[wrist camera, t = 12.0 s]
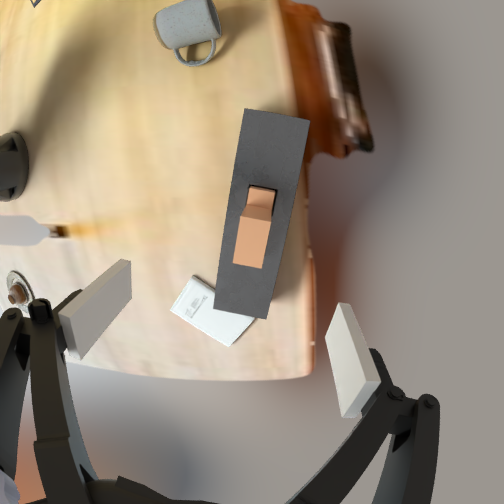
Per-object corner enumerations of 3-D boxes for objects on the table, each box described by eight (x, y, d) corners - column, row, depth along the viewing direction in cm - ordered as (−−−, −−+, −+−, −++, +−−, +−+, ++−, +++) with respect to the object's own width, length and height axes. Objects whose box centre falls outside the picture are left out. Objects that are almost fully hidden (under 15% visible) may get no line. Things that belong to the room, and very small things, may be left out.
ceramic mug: (166, 23, 29) (146, 4, 22) (216, 7, 28) (205, -16, 21) (175, 75, 33) (155, 62, 26) (229, 60, 32) (219, 42, 25)
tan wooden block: (242, 243, 40) (229, 280, 29) (253, 182, 37) (243, 195, 26) (262, 247, 40) (257, 285, 29) (274, 186, 37) (275, 201, 26)
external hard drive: (229, 342, 49) (172, 306, 47) (255, 313, 46) (193, 273, 44) (228, 347, 47) (169, 311, 45) (254, 319, 45) (190, 277, 43)
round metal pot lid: (5, 268, 49) (-6, 275, 45) (27, 272, 48) (15, 280, 44) (17, 307, 53) (7, 315, 49) (41, 314, 53) (31, 324, 48)
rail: (219, 292, 44) (212, 308, 40) (248, 113, 34) (244, 108, 30) (267, 302, 44) (266, 319, 40) (305, 124, 34) (310, 120, 30)
